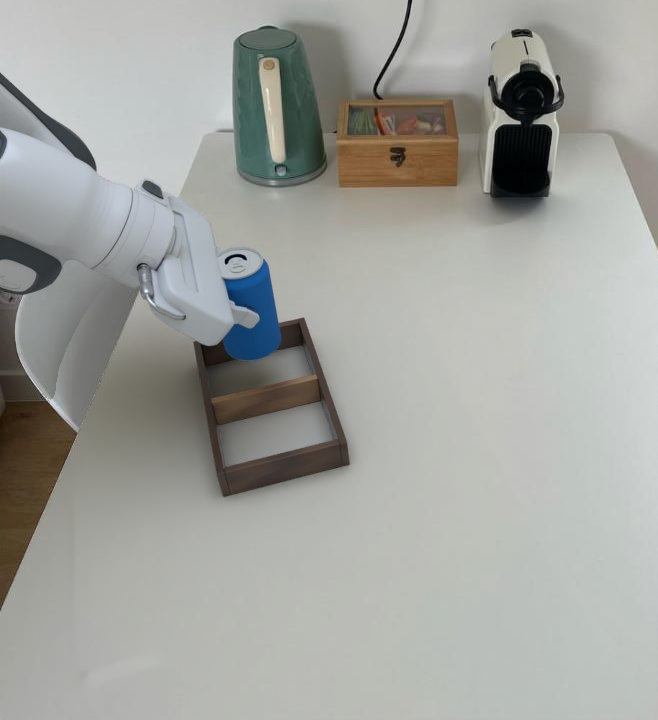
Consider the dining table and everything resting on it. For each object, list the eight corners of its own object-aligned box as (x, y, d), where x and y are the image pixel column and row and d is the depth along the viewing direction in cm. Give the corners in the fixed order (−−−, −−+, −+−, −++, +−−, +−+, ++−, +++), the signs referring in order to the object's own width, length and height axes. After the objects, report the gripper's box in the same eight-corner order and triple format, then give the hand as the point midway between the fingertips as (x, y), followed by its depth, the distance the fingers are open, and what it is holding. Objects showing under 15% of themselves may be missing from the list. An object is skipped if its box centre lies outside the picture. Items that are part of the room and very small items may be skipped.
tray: (223, 497, 84) (216, 474, 82) (199, 363, 99) (193, 341, 97) (349, 464, 87) (347, 442, 84) (307, 339, 102) (304, 317, 100)
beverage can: (275, 323, 96) (260, 238, 88) (287, 357, 92) (272, 272, 83) (221, 335, 95) (201, 251, 87) (230, 371, 90) (210, 285, 82)
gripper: (162, 278, 72) (285, 337, 80) (145, 168, 86) (251, 228, 95) (123, 327, 74) (247, 380, 82) (114, 212, 88) (220, 266, 97)
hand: (249, 298), depth 89 cm, fingers closed on beverage can, 6 cm apart
